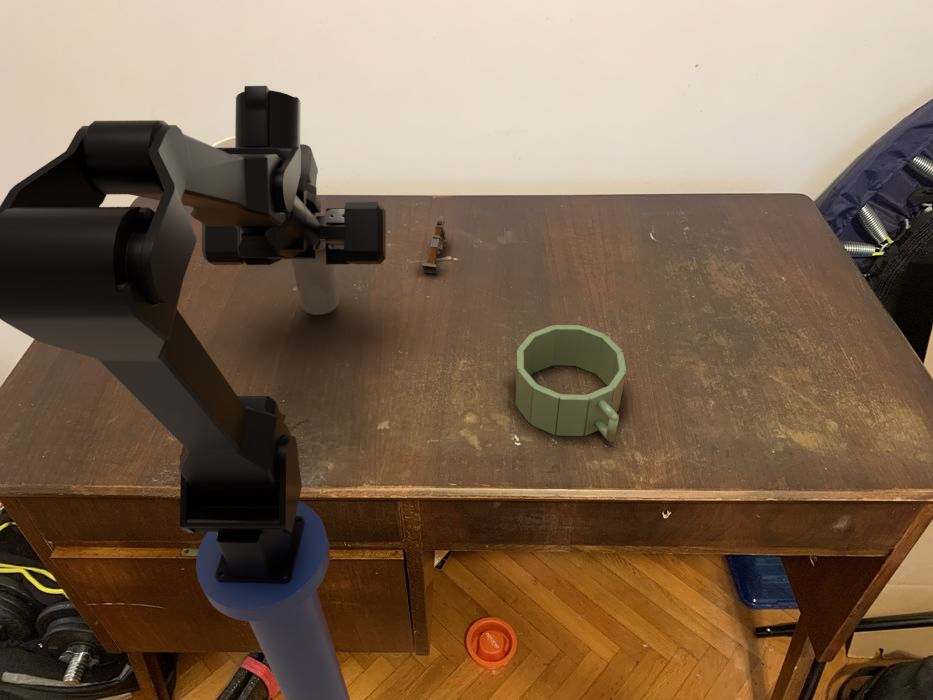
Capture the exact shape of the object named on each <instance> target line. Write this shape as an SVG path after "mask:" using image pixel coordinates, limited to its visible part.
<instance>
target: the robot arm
mask: <svg viewBox="0 0 933 700" xmlns="http://www.w3.org/2000/svg"><path fill="white" fill-rule="evenodd" d="M301 105H302V103H301V100H300V99H299V97H297V96H292V95H290V94H289V93H285V92H282V91H278V90H271V89H270V88H269V87H268V86H267V85H245V86H244V90H243V91H242V92H240V93H238V94H237V95H236V96H235V125H234V128H235V130H234V136H235V148H215V147H213V146H212V145H210V144H208V143H206V142H203V141H201V140H199V139H196V138H194V137H191V136H190V135H188V134H186V133H183V131H182V129H181V128H180V127H179V126H178V125H177V124H169V123H167V122H166V121H165V120H163V119H162V120H161V119H160V120H158V119H156V120H155V119H154V120H150V119H149V120H146V119H145V120H144V119H143V120H142V119H141V120H94V121H92V122H91V123H90V124H89V125H82V126H81V127H80V128H79V129H77V131H76V133H75V135H74V136H73V138H72V139H71V141H70V143H69V145H68V147H67V148H66V149H65V151H64V152H62V153H61V154H59V155H58V156H55V158H53V159H52V160H50V161H49V162H47V163H46V164H45V165H43V166H41V167H39V168H38V169H37V170H35V171H33V172H32V173H31V174H30V175H28V176H27V177H25V178H24V179H22V180H20V181H19V182H17V183H16V184H14V185H13V187H11V189H10V190H9V191H8V192H7V194H6V196H5V197H4V199H3V201H2V202H1V204H0V321H3V322H4V323H6V324H7V325H9V326H11V327H12V328H14V329H16V330H17V331H19V332H21V333H23V334H24V335H26V336H28V337H30V338H31V339H33V340H35V341H37V342H39V343H41V344H45V345H49V346H52V347H56V348H59V349H63V350H66V351H69V352H73V353H77V354H80V355H82V356H83V355H84V356H87V357H89V358H93V359H96V360H97V361H98V362H100V363H101V364H102V365H103V366H104V367H105V368H106V370H108V372H110V373H111V374H112V375H113V376H114V377H115V378H116V379H117V380H118V381H119V382H120V384H122V386H124V387H125V388H126V389H127V390H128V391H129V392H130V394H132V395H133V396H134V397H135V399H137V401H139V402H140V403H141V404H142V406H144V408H146V410H147V411H148V412H150V413H151V415H152V416H154V417H155V419H156V420H157V421H159V423H160V424H161V425H162V426H163V427H164V428H165V429H166V430H167V431H168V432H169V433H170V434H171V435H172V436H173V437H174V438H175V439H176V440H177V441H178V442H179V443H180V444H181V445H182V448H181V453H180V455H179V464H178V465H179V466H178V470H179V473H180V489H179V490H180V492H179V527H180V529H182V530H183V531H185V532H187V533H188V534H195V533H207V532H216V533H217V535H218V536H217V543H218V545H219V547H220V549H221V551H222V555H221V558H220V562H219V565H218V568H217V571H216V574H215V577H216V579H217V581H218V582H232V583H265V584H287V583H289V582H290V581H291V579H292V576H293V572H294V567H295V563H296V559H297V555H298V551H299V546H300V542H301V538H302V534H303V529H304V525H305V520H304V518H303V517H301V516H296V511H297V507H298V502H299V501H300V497H301V492H302V487H303V486H302V478H301V467H300V458H299V451H298V444H297V443H298V442H297V439H296V437H295V435H291V432H290V429H289V427H288V425H287V424H286V423H285V420H286V414H282V412H281V411H280V409H279V407H278V404H277V402H276V400H275V399H274V398H272V397H270V396H269V395H237V393H236V392H235V391H234V389H233V387H232V386H231V385H230V383H229V382H228V380H227V379H226V377H225V376H224V374H223V373H222V372H221V370H220V369H219V368H218V366H217V365H216V363H215V361H214V359H212V357H211V356H210V355H209V353H208V352H207V350H206V349H205V347H204V346H203V344H202V343H201V341H200V340H199V339H198V337H197V336H196V334H195V333H194V331H193V330H192V328H191V327H190V325H189V324H188V323H187V321H186V320H185V318H184V317H183V315H182V314H181V313H180V311H179V309H178V308H177V307H178V304H179V300H180V295H181V291H182V288H183V284H184V279H185V276H186V273H187V270H188V266H189V265H190V262H191V258H192V255H193V253H194V250H195V247H196V244H197V235H196V232H195V230H194V228H193V225H192V224H191V220H190V217H189V215H188V213H187V211H186V209H185V206H186V207H189V214H190V216H191V217H192V218H194V219H195V220H197V221H198V222H200V223H201V252H202V256H203V259H205V260H206V261H207V263H209V264H211V265H213V266H241V265H244V264H246V265H248V266H271V265H273V264H276V263H277V262H280V261H282V260H291V259H316V250H324V249H325V244H326V264H333V265H351V264H352V265H381V264H382V263H384V261H385V260H386V252H387V249H386V248H387V247H386V246H387V245H386V244H387V241H386V240H387V236H386V235H387V232H386V231H387V228H386V227H387V222H386V221H387V219H386V218H387V217H386V216H387V213H386V209H385V207H384V206H383V205H382V204H381V203H380V202H379V201H346V202H345V205H344V207H343V208H342V207H337V208H336V207H335V208H333V207H332V208H326V209H325V214H324V215H317V214H320V213H321V211H322V210H321V207H322V206H321V204H322V203H321V202H322V201H321V199H320V198H319V197H318V196H317V193H318V192H317V191H318V190H317V189H318V188H317V177H318V173H319V169H318V165H317V163H316V159H315V156H314V154H313V150H312V148H311V147H310V146H309V145H307V144H304V143H303V144H302V143H301V110H302V109H301V107H302V106H301ZM109 195H129V196H134V197H140V198H145V199H151V200H155V201H159V202H158V205H157V207H156V210H154V209H152V208H150V207H141V206H101V205H102V204H103V203H104V202H105V199H106V198H107V196H109ZM323 224H324V225H325V226H323ZM320 225H321V226H320ZM320 239H325V241H324V240H322V243H321V241H320ZM298 521H301V522H300V523H297V522H298ZM221 574H224V576H222V577H219V576H220V575H221ZM285 576H288V578H286V579H283V578H284V577H285Z"/></svg>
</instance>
